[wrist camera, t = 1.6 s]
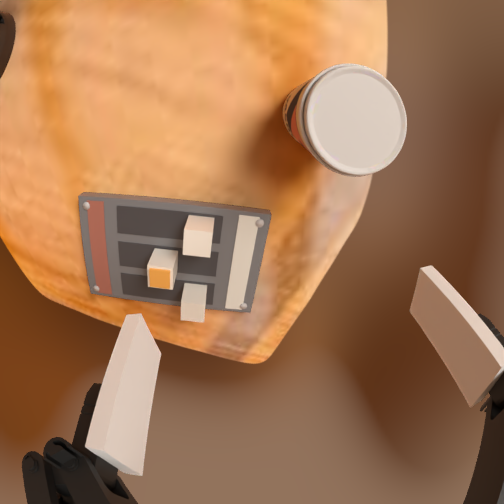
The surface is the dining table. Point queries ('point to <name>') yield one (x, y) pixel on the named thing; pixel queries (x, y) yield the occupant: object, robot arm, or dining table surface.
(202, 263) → the breaker panel
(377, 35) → the dining table surface
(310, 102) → the coffee cup
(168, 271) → the breaker toggle
